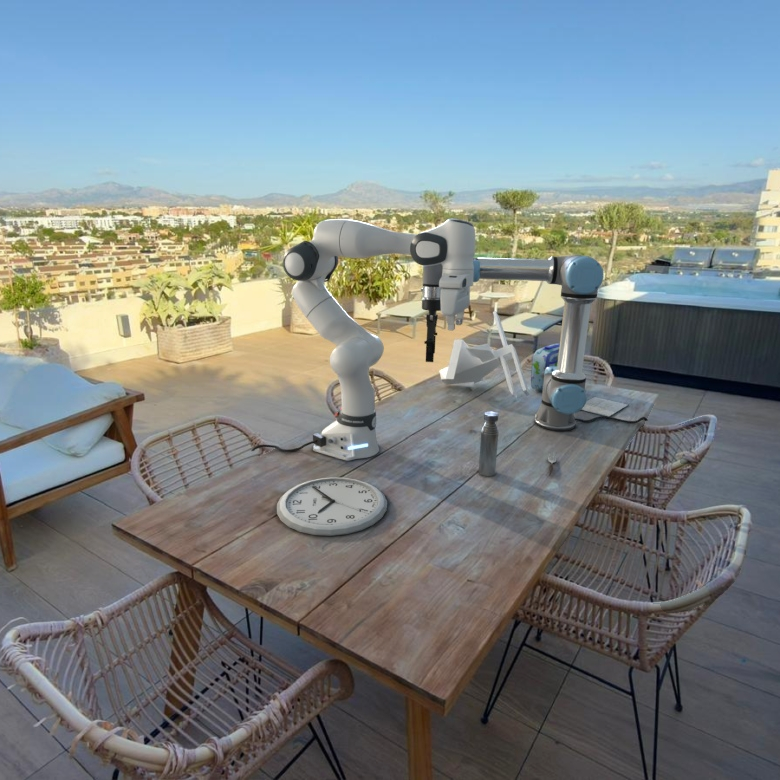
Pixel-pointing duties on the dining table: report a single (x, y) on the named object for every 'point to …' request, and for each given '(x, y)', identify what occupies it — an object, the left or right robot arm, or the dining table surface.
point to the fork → (551, 462)
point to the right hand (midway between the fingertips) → (430, 357)
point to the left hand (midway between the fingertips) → (455, 327)
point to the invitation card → (603, 406)
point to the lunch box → (543, 364)
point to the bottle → (488, 449)
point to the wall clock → (331, 506)
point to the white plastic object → (482, 362)
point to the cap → (491, 416)
